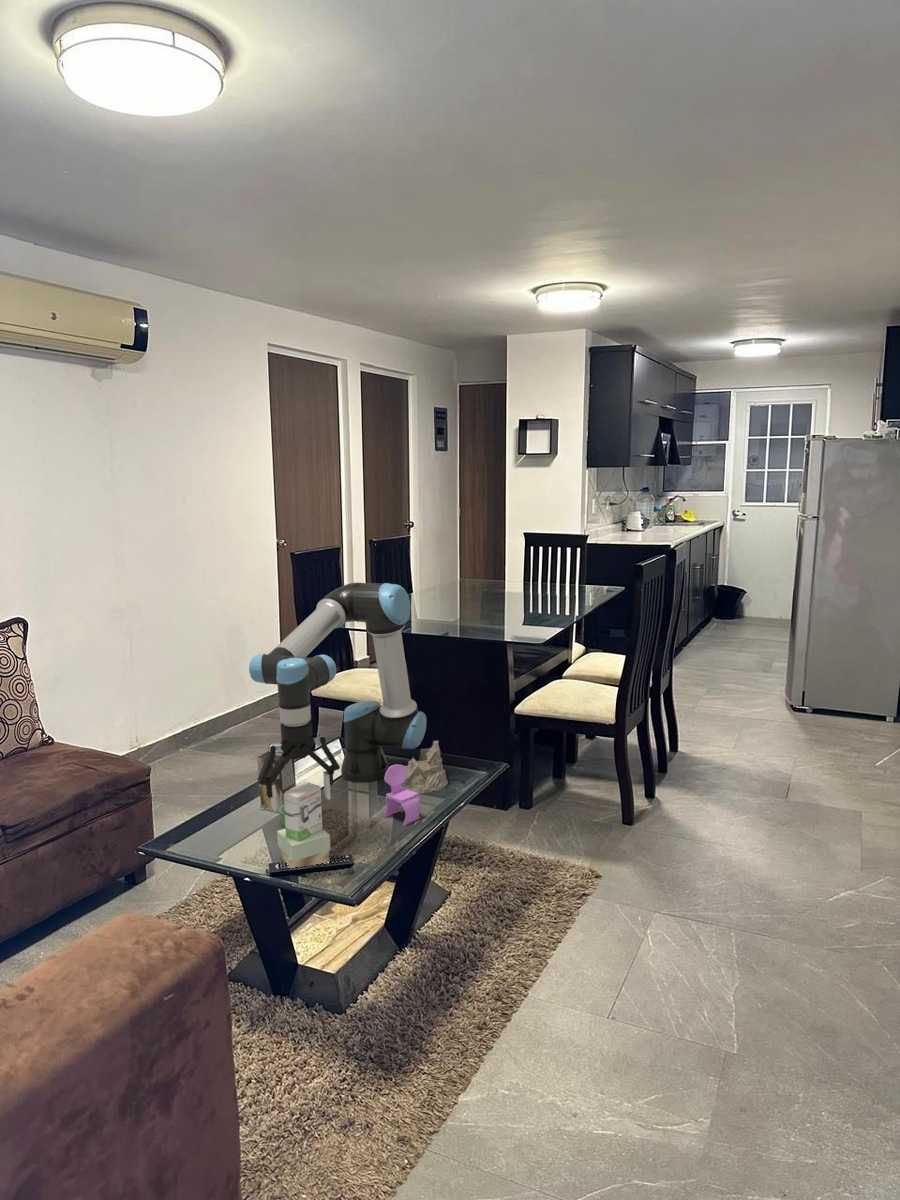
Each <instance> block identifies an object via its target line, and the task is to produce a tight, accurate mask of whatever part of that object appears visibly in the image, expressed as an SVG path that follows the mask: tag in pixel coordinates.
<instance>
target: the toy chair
mask: <svg viewBox="0 0 900 1200" xmlns="http://www.w3.org/2000/svg"><path fill="white" fill-rule="evenodd" d="M405 766H406V765H403V764H393V765H390V766H388V770H387V772H386V774H385V777H383V778H384V782H385V783H386V784H387V785H389V787H390V789H391V792H388V793H386V794H385V796H386V797H385V803H386V810H385V812H384V815H383V816H382V817H383V819H386V818H387V817H390V816H392V815H394V814H397V813H399V812H401V806H402V808H403V810H404V812H405V813H404V814H405V818H404V821H403V823H402V826H403V827H404V826H406V825H410V824H411V823H413V822H415V821H417V820H419V819H421V818H420V813H419V806H420V797H419V794H418V793H416V792H413V791H410V790H408V789H405V788H401V784H402V783H403V782H404V781H405V780H406V777H407V768H406V767H405ZM400 804H401V806H400Z"/></svg>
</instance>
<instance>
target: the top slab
mask: <svg viewBox="0 0 900 1200" xmlns="http://www.w3.org/2000/svg"><path fill="white" fill-rule="evenodd" d="M276 835H277V836H276V837H277V846H278V847H279V849H280V848H281V849H282V850H283V851H284V852H285V854H286V855H287V856H288V857H289V858H290V859H291V860H292V861H295V860H299V859H302V858H306V857H309V856H312V855H315V854H319V853H322V852H325V851H329V852H330V851H331V835H330V834H329V833H328V832H327V831H326V830H325V829H323V828H322V829H320V830H319V831H317V832H315V833H313V834H311V835H310V836H308V837H306V838H304V839H303V840H301V841H297V840H294V839H291V838H288V837H286V828H282V829H280V830H277V831H276Z"/></svg>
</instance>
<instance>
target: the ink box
mask: <svg viewBox="0 0 900 1200" xmlns="http://www.w3.org/2000/svg"><path fill="white" fill-rule="evenodd" d="M321 791H322V788H321V785H318V784H315V783H312V782H309V781H305V782H302V783H301V784H299V785H296V787H294V788H292V789H290V790H288V791H286V792H285V793H284V810H285V826H284V827H285V829H286V837H288V838H291V839H294V840H297V841H301V840H303V839H304V838H306V837H308V836H310V835H311V834H313V833H315V832H317V831H319V830H320V829H323V816H322V815H323V814H322V813H323V812H322V809H323V808H322V792H321Z"/></svg>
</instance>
